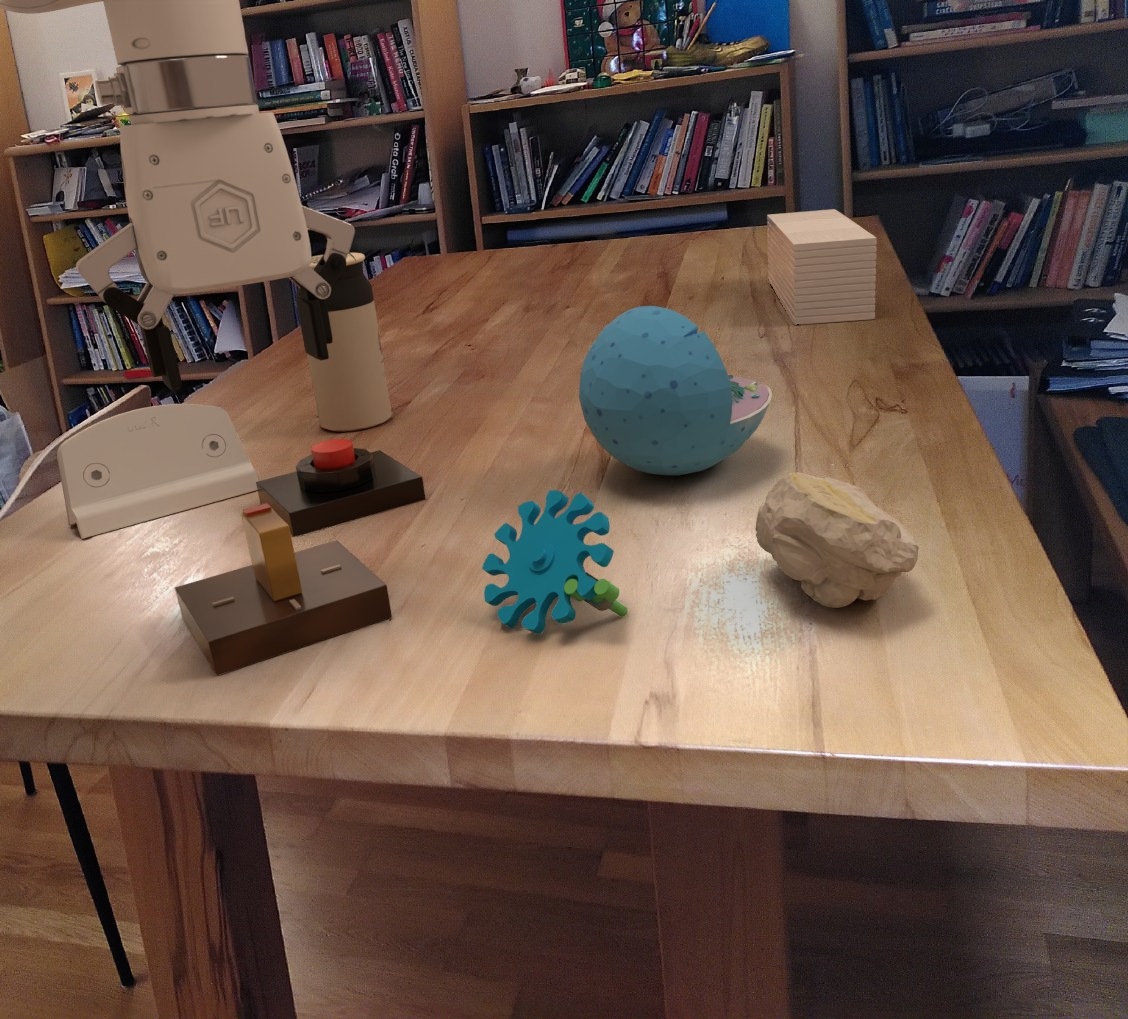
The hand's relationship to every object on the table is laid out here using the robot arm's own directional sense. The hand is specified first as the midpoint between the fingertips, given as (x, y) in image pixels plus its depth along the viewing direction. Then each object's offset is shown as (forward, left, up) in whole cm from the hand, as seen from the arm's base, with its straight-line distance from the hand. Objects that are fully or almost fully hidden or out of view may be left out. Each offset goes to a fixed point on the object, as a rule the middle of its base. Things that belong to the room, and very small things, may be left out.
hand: (247, 370), depth 69 cm
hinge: (-3, +28, -17) cm, 33 cm away
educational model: (+37, +2, -17) cm, 40 cm away
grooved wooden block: (+94, +46, -17) cm, 106 cm away
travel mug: (+20, +39, -17) cm, 47 cm away
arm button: (+10, +16, -13) cm, 23 cm away
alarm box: (+10, +16, -17) cm, 25 cm away
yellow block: (-1, -3, -14) cm, 15 cm away
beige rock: (+30, -24, -17) cm, 42 cm away
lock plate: (-1, -3, -17) cm, 17 cm away
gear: (+14, -15, -17) cm, 26 cm away
